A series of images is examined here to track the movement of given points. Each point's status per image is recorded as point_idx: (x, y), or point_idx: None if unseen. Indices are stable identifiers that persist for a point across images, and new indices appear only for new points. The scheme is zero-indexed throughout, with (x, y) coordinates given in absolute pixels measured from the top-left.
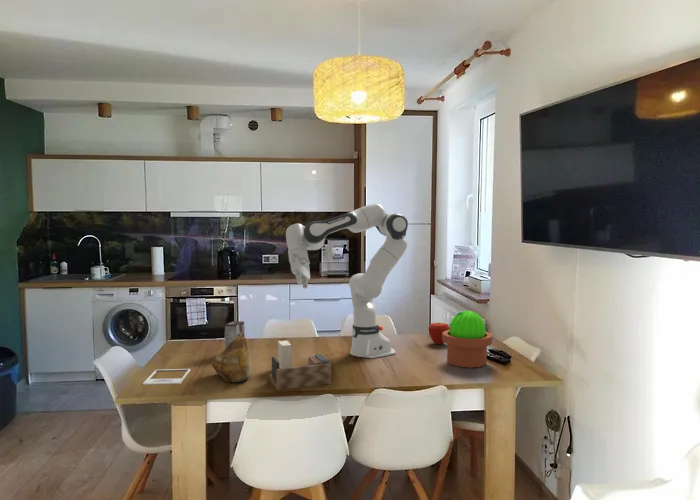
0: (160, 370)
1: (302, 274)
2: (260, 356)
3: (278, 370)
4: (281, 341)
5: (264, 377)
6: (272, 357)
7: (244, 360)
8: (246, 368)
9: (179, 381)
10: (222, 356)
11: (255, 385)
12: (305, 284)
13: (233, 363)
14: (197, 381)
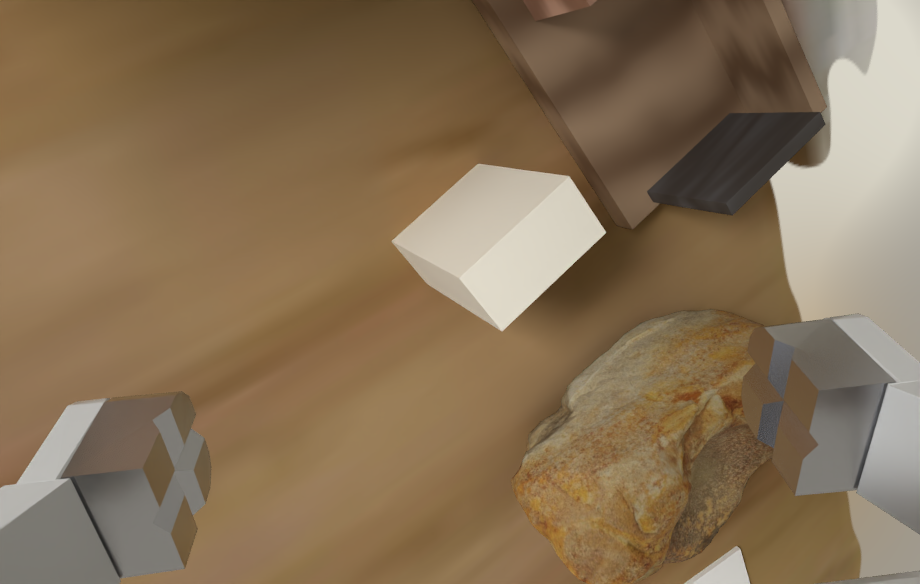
0: None
1: (893, 581)
2: (231, 532)
3: (820, 100)
4: (498, 303)
5: (595, 266)
6: (741, 204)
7: None
8: (736, 321)
9: (730, 561)
10: (685, 520)
11: (702, 243)
12: (159, 484)
13: None
14: None
